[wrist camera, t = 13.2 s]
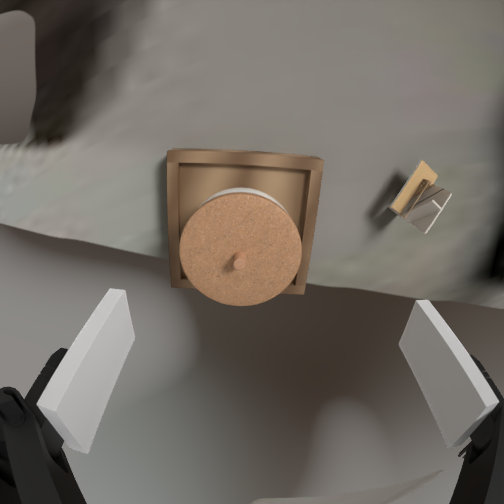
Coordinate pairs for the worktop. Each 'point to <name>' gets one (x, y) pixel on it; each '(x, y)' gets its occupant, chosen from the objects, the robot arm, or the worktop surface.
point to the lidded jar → (240, 247)
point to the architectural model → (420, 198)
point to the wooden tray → (246, 176)
